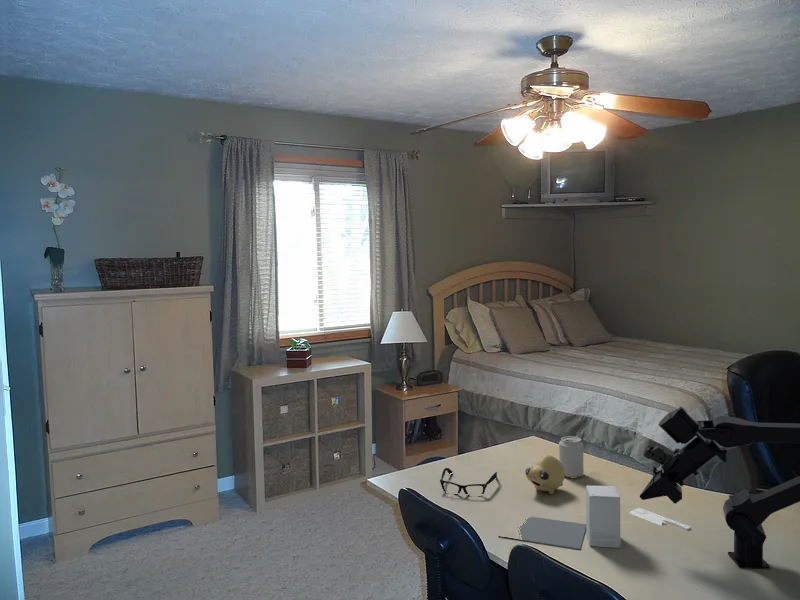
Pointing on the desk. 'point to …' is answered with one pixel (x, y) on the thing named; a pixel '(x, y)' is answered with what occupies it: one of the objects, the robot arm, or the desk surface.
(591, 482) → the desk surface
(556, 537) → the mat
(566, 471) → the can
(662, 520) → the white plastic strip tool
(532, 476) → the beige rounded figure
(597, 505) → the supplement box
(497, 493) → the desk surface
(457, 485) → the glasses
